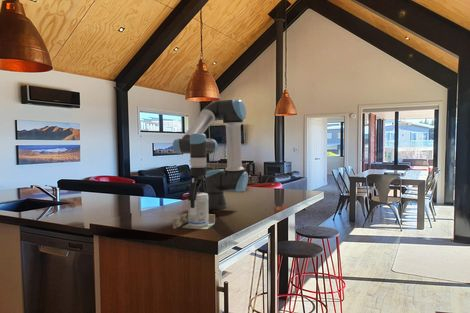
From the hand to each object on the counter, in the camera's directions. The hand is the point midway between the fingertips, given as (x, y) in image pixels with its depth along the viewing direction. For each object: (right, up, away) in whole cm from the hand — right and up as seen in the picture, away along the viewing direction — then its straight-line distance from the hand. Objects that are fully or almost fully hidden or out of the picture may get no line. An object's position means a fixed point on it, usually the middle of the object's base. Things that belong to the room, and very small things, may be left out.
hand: (198, 212), depth 155 cm
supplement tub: (0, -6, 0) cm, 6 cm away
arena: (-2, -6, +1) cm, 7 cm away
